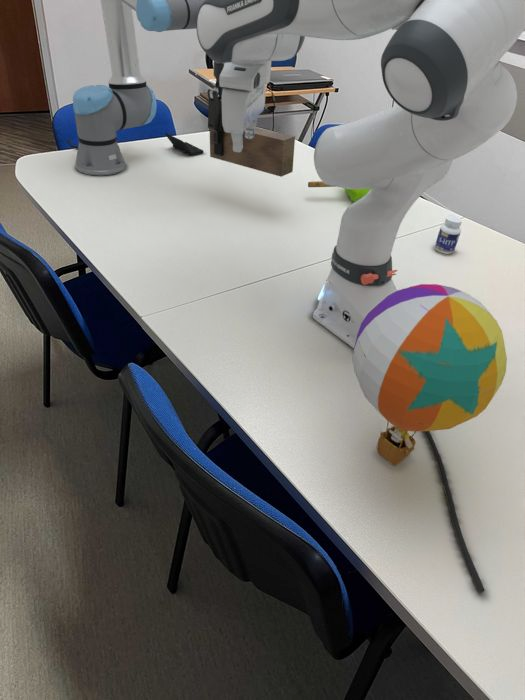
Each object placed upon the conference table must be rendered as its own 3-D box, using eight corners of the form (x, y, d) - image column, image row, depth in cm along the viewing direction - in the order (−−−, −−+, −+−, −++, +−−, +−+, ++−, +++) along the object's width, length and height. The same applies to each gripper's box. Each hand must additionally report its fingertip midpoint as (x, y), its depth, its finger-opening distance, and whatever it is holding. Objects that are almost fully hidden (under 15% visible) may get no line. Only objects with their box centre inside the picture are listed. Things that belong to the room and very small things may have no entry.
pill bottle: (433, 251, 139) (442, 220, 133) (435, 243, 143) (444, 213, 137) (453, 256, 138) (464, 225, 132) (454, 247, 142) (465, 217, 136)
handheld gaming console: (207, 146, 186) (192, 126, 178) (197, 163, 185) (182, 143, 177) (185, 143, 193) (170, 123, 184) (175, 159, 191) (159, 139, 183)
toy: (305, 446, 82) (335, 284, 64) (382, 395, 93) (428, 243, 74) (404, 533, 71) (476, 369, 53) (479, 464, 82) (561, 307, 63)
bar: (292, 171, 141) (295, 136, 136) (281, 176, 138) (283, 140, 132) (222, 152, 153) (221, 119, 147) (210, 156, 149) (209, 122, 144)
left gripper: (239, 54, 142) (235, 142, 156) (193, 61, 130) (193, 155, 144) (261, 59, 138) (255, 148, 153) (215, 67, 126) (214, 163, 141)
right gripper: (245, 59, 108) (242, 128, 116) (216, 78, 92) (214, 156, 101) (275, 63, 107) (269, 132, 116) (250, 82, 91) (246, 161, 100)
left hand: (225, 151), depth 148 cm, fingers closed on bar, 5 cm apart
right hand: (243, 144), depth 108 cm, fingers open, 8 cm apart
